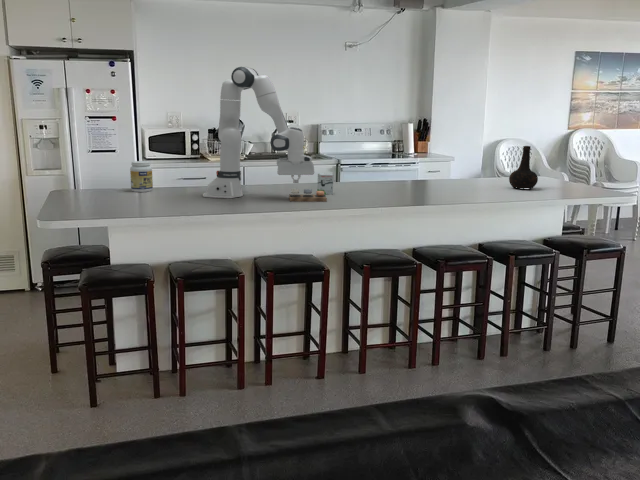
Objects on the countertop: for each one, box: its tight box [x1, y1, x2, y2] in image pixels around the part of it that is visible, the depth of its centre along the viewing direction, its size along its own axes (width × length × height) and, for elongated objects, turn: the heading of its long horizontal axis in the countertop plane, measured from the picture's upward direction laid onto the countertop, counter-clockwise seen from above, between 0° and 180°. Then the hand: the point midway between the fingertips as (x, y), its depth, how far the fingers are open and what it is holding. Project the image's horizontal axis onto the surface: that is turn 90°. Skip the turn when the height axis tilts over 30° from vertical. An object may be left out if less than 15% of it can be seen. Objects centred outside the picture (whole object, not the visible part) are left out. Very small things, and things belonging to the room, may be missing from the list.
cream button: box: [290, 188, 300, 194], centre depth 332 cm, size 4×4×2 cm
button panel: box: [288, 193, 328, 203], centre depth 333 cm, size 20×12×2 cm, turn 95°
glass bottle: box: [508, 145, 539, 189], centre depth 391 cm, size 18×18×28 cm
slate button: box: [303, 188, 313, 195], centre depth 332 cm, size 4×4×2 cm
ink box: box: [316, 172, 334, 195], centre depth 355 cm, size 9×5×12 cm, turn 105°
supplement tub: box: [129, 160, 154, 193], centre depth 350 cm, size 12×12×17 cm
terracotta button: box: [315, 190, 325, 196], centre depth 333 cm, size 4×4×2 cm
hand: (295, 183), depth 331 cm, fingers closed
